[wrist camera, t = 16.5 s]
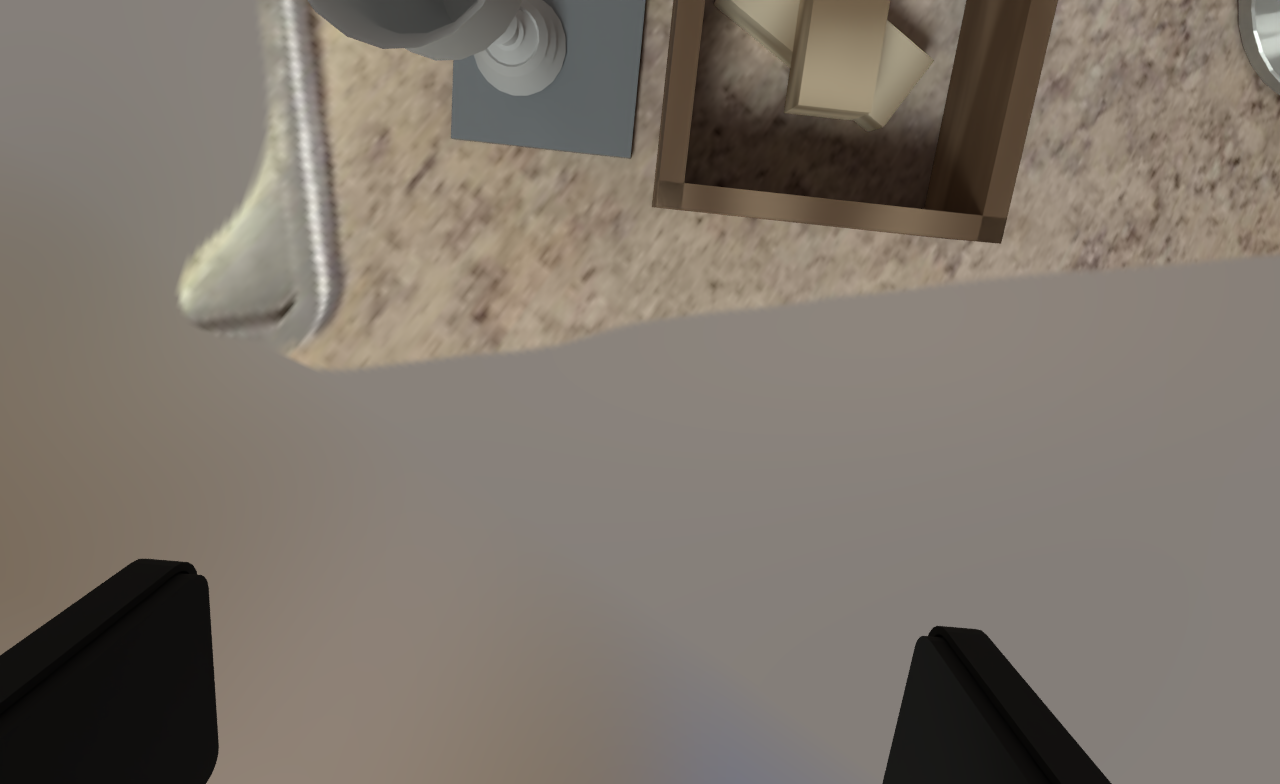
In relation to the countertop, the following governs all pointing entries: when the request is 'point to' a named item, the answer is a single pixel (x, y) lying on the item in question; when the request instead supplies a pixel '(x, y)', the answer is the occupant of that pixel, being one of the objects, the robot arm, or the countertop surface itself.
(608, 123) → the slate tile
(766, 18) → the offcut lower
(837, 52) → the offcut upper
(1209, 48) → the countertop surface
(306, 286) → the countertop surface
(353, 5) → the chalice
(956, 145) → the brown wooden u-shaped frame
